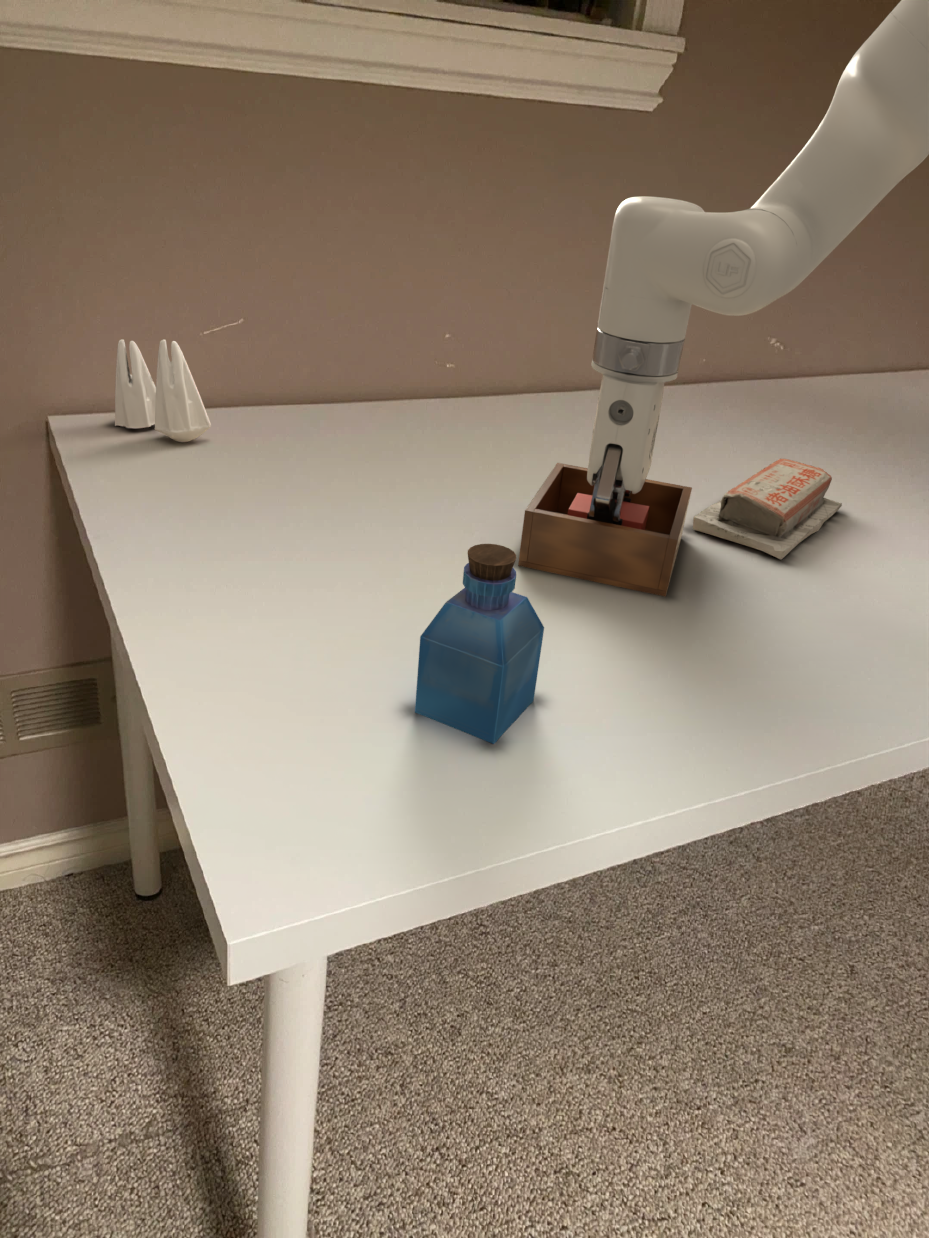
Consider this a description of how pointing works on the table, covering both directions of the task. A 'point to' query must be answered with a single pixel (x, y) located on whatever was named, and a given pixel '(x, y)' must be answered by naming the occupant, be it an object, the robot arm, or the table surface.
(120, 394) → the shaker set
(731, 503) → the packaged product
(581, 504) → the block
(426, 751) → the table surface
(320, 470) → the table surface
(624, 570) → the holder
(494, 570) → the perfume bottle
